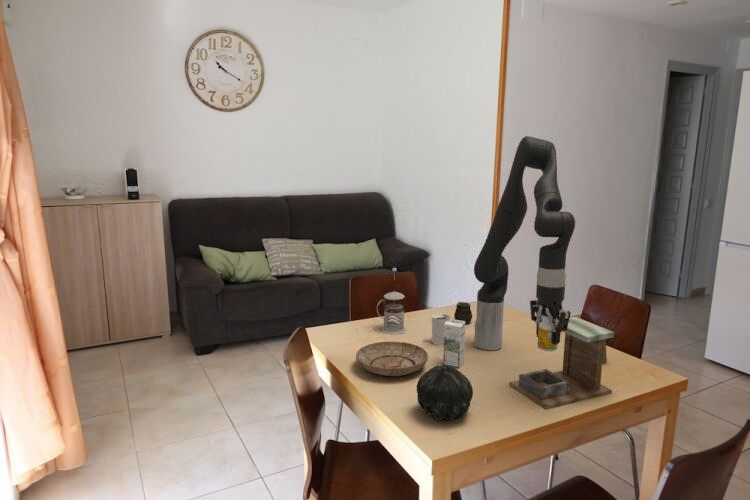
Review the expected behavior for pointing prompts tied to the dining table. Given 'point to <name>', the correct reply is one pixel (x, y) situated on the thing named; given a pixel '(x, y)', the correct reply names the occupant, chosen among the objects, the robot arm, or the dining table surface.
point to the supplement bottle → (545, 335)
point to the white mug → (438, 328)
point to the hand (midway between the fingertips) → (547, 340)
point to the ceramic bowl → (391, 358)
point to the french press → (393, 313)
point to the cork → (604, 353)
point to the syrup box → (454, 343)
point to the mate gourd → (463, 312)
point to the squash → (444, 392)
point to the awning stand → (570, 369)
